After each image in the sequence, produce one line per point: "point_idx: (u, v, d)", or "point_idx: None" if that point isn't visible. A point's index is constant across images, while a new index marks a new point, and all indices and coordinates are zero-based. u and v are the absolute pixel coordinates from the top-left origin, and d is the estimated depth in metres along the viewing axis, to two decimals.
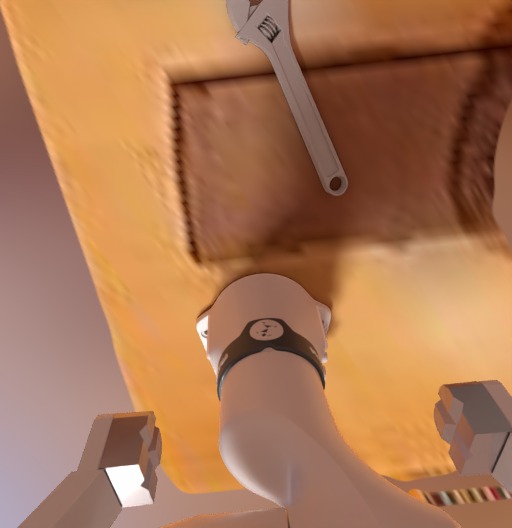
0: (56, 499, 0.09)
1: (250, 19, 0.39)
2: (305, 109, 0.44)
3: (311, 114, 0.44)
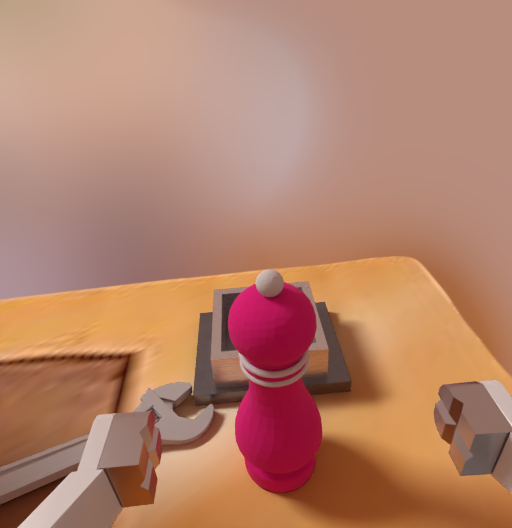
0: (56, 499, 0.09)
1: (160, 400, 0.40)
2: (52, 461, 0.35)
3: (43, 469, 0.34)
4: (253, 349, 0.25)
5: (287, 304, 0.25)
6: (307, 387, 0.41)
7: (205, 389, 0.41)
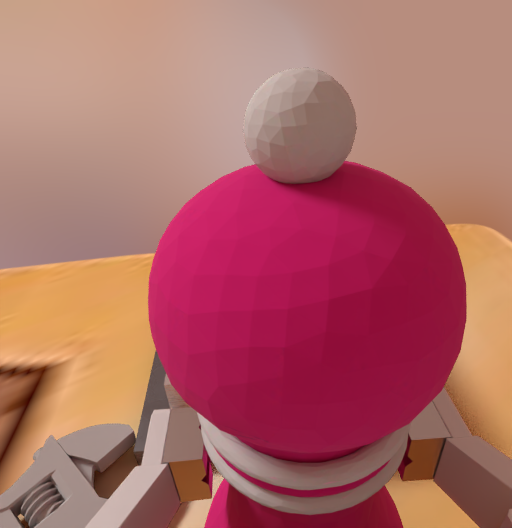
0: (125, 493, 0.09)
1: (68, 461, 0.21)
2: None
3: None
4: (229, 397, 0.06)
5: (375, 207, 0.06)
6: None
7: None
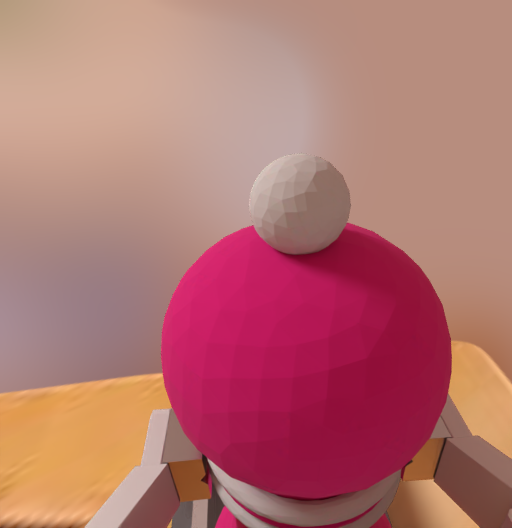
0: (124, 493, 0.09)
1: None
2: None
3: None
4: (241, 453, 0.06)
5: (368, 279, 0.07)
6: None
7: None
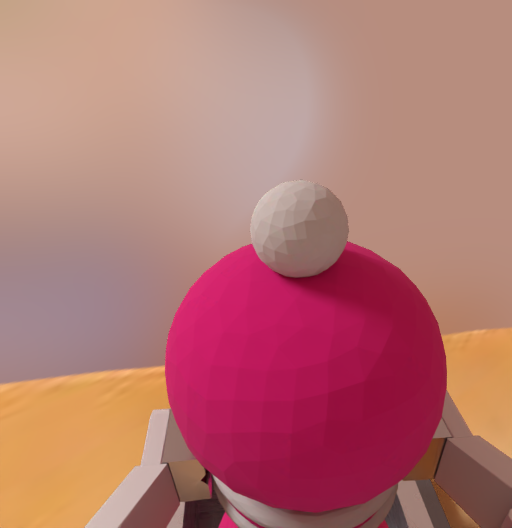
0: (124, 493, 0.09)
1: None
2: None
3: None
4: (244, 470, 0.07)
5: (366, 302, 0.07)
6: None
7: None
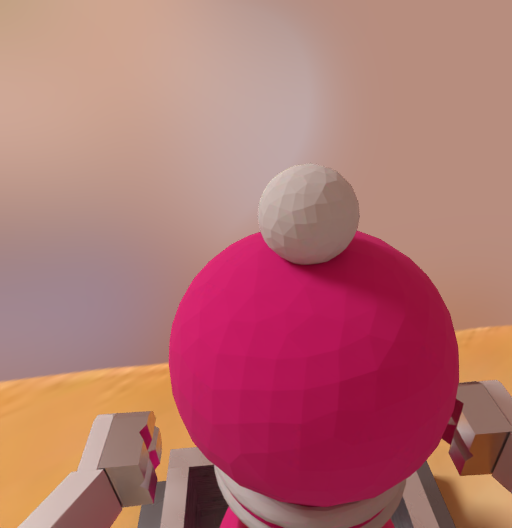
0: (56, 499, 0.09)
1: None
2: None
3: None
4: (251, 463, 0.06)
5: (377, 289, 0.07)
6: None
7: None
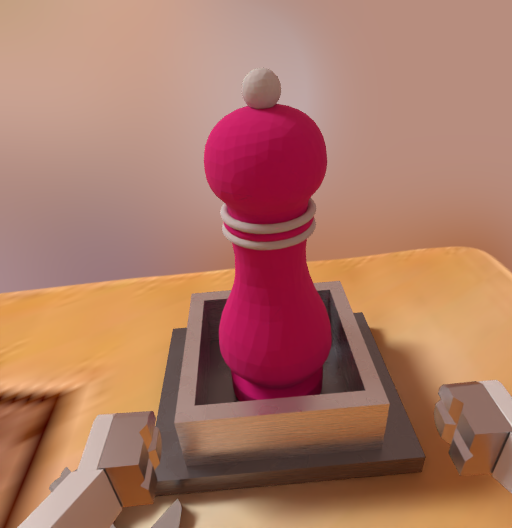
0: (56, 499, 0.09)
1: None
2: None
3: None
4: (238, 177, 0.17)
5: (286, 115, 0.18)
6: (347, 467, 0.23)
7: (168, 469, 0.23)
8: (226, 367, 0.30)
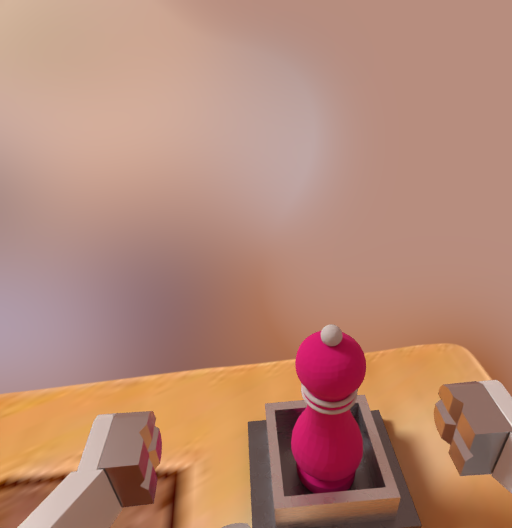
0: (56, 499, 0.09)
1: None
2: None
3: None
4: (320, 387, 0.32)
5: (346, 352, 0.33)
6: None
7: None
8: (290, 455, 0.45)
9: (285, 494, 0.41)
